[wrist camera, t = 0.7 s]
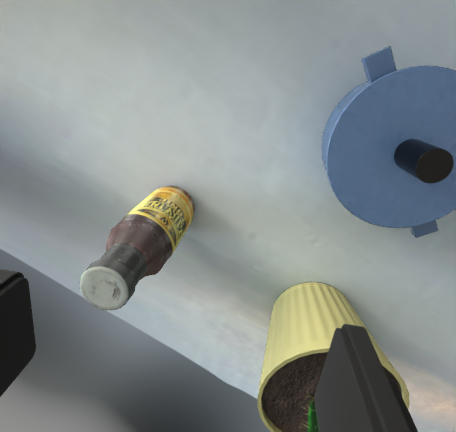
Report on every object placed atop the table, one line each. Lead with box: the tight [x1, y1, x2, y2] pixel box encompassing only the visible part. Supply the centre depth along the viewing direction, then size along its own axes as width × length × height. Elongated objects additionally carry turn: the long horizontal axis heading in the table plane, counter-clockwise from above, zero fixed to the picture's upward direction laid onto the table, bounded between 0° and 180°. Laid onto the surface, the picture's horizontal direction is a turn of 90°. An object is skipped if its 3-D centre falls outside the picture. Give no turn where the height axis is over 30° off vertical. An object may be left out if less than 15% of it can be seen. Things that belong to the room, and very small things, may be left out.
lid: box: [326, 66, 456, 228], centre depth 31 cm, size 16×16×6 cm
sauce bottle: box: [80, 186, 194, 310], centre depth 35 cm, size 6×6×20 cm
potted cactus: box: [258, 282, 409, 432], centre depth 35 cm, size 15×15×30 cm
